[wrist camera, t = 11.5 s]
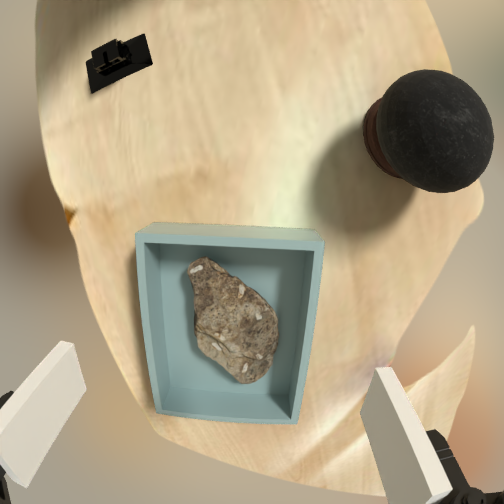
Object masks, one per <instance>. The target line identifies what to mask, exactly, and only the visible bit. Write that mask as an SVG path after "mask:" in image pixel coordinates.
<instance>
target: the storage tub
mask: <svg viewBox="0 0 504 504" xmlns="http://www.w3.org/2000/svg"><path fill="white" fill-rule="evenodd" d="M135 243H136V261H137V276H138V288H139V299H140V309H141V318H142V327H143V335H144V343H145V350H146V357H147V364H148V370H149V376H150V382H151V388H152V394H153V399H154V404H155V409H156V413H158V414H164V415H170V416H177V417H185V418H193V419H202V420H212V421H223V422H236V423H255V424H297V423H298V418H299V413H300V408H301V403H302V398H303V392H304V387H305V381H306V376H307V370H308V364H309V358H310V352H311V346H312V339H313V333H314V326H315V319H316V312H317V305H318V297H319V289H320V281H321V273H322V264H323V255H324V245H325V241H324V240H323V239H322V238H321V237H320V235H319V234H318V233H317V232H316V231H315V230H314V229H298V228H280V227H261V226H240V225H217V224H191V223H161V222H154V223H152V224H150V225H148V226H147V227H145V228H143V229H141V230H140V231H138V232H136V233H135ZM205 256H207V257H208V258H210V259H212V260H213V261H214V262H216V263H218V264H219V265H220V266H221V267H223V268H224V269H225V270H226V271H227V272H228V273H229V274H230V275H232V276H236V277H238V278H239V279H240V280H241V281H242V282H243V283H244V284H246V285H247V286H248V287H250V288H252V289H254V290H255V291H257V292H258V293H259V294H260V295H261V296H262V297H263V298H265V299H266V301H267V302H268V304H269V305H270V306H271V307H272V308H273V309H274V311H275V313H276V315H277V317H278V320H279V321H278V331H279V338H278V347H277V349H276V352H275V354H274V355H273V364H272V366H271V367H270V368H269V370H268V371H267V373H266V374H265V375H264V376H263V377H262V378H260V379H258V380H257V381H256V382H253V383H251V384H241V383H240V382H239V381H237V380H236V379H235V378H234V377H233V376H232V375H231V374H230V373H229V372H227V371H226V370H225V369H224V368H223V366H221V365H220V364H219V363H218V362H217V361H215V360H212V359H211V358H210V357H206V356H205V355H204V354H203V352H202V351H201V350H200V349H199V348H198V344H197V338H196V336H195V334H194V310H195V309H194V292H193V288H192V284H191V281H190V278H189V276H188V273H187V269H188V267H189V265H190V263H191V262H193V261H195V260H197V259H199V258H201V257H205Z"/></svg>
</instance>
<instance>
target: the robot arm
mask: <svg viewBox="0 0 504 504" xmlns="http://www.w3.org/2000/svg"><path fill="white" fill-rule="evenodd" d="M86 390H87V388H86V385H85V382H84V378H83V375H82V372H81V368H80V365H79V361H78V358H77V354H76V350H75V346H74V344H73V343H69V342H64V341H60V342H59V343H58V344H57V345H56V346H55V348H54V349H53V350H52V351H51V352H50V353H49V354H48V355H47V356H46V357H45V358H44V359H43V361H42V362H41V363H40V364H39V365H38V366H37V367H36V368H35V369H34V371H33V372H32V373H31V374H30V375H29V376H28V377H27V379H26V380H25V381H24V382H23V383H22V384H21V385H20V386H19V388H18V389H17V390H16V391H15V392H13V391H10V392H9V393H6V394H5V395H3V396H2V397H1V398H0V504H11V501H10V497H9V492H8V488H7V483H6V480H5V478H4V477H3V476H4V475H5V473H7V474H8V475H9V476H10V478H11V479H12V480H13V481H15V482H16V483H18V484H20V485H22V486H24V487H25V488H27V487H28V485H29V484H30V482H31V480H32V478H33V476H34V475H35V473H36V471H37V469H38V468H39V466H40V464H41V462H42V460H43V459H44V457H45V456H46V454H47V452H48V451H49V449H50V447H51V446H52V444H53V442H54V441H55V439H56V437H57V436H58V434H59V432H60V431H61V429H62V427H63V426H64V424H65V422H66V421H67V419H68V418H69V416H70V414H71V413H72V412H73V410H74V408H75V407H76V405H77V404H78V402H79V401H80V399H81V397H82V396H83V394H84V393H85V391H86ZM360 415H361V418H362V421H363V424H364V427H365V430H366V433H367V436H368V439H369V442H370V445H371V448H372V451H373V454H374V457H375V461H376V464H377V467H378V470H379V473H380V477H381V480H382V483H383V487H384V490H385V493H386V497H387V500H388V503H389V504H504V491H503V492H496V493H486V494H485V493H483V492H482V491H481V490H479V489H477V488H473V487H470V486H469V484H468V483H467V481H466V479H465V477H464V475H463V473H462V471H461V469H460V467H459V465H458V463H457V461H456V459H455V457H453V453H452V451H451V449H449V445H448V443H447V441H446V440H445V438H444V437H443V436H442V435H441V434H440V433H439V432H438V431H437V430H430V431H425V430H424V428H423V426H422V424H421V422H420V420H419V418H418V416H417V414H416V412H415V410H414V408H413V406H412V404H411V402H410V400H409V399H408V397H407V395H406V393H405V391H404V389H403V387H402V385H401V384H400V382H399V380H398V378H397V376H396V375H395V373H394V371H393V369H392V367H385V368H375V372H374V375H373V378H372V381H371V383H370V386H369V389H368V392H367V395H366V398H365V400H364V403H363V406H362V408H361V411H360Z"/></svg>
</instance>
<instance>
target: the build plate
mask: <svg viewBox="0 0 504 504" xmlns="http://www.w3.org/2000/svg"><path fill="white" fill-rule="evenodd" d="M91 54H92V58H91V59H89V60H88V61H86V67H87V73H88V79H89V85H90V90H91V94H93V93H94V92H96V91H98V90H100V89H102V88H104V87H106V86H108V85H110V84H112V83H114V82H116V81H118V80H120V79H122V78H124V77H126V76H128V75H130V74H133V73H135V72H137V71H139V70H142V69H144V68H146V67H148V66H151V65H152V64H153V62H152V59H151V55H150V51H149V48H148V44H147V40H146V36H145V34H141V35H139V36H137V37H134V38H132V39H130V40H128V41H126V42H122V41H121V40H120V41H118V40H117V39H114V40H112V41H110V42H108V43H106V44H104V45H102V46H100V47H98V48H96V49H94V50H93V51H91Z"/></svg>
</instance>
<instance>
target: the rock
mask: <svg viewBox="0 0 504 504" xmlns="http://www.w3.org/2000/svg"><path fill="white" fill-rule="evenodd" d="M187 273H188V276H189V278H190V281H191V284H192V288H193V292H194V309H195V310H194V334H195V336H196V338H197V344H198V348H199V349H200V350H201V351H202V352H203V354H204V355H205V356H206V357H210V358H211V359H212V360H215V361H217V362H218V363H219V364H220V365H221V366H223V368H224V369H225V370H226V371H227V372H229V373H230V374H231V375H232V376H233V377H234V378H235V379H236V380H237V381H239V382H240V383H241V384H251V383H253V382H256V381H257V380H258V379H260V378H262V377H263V376H264V375H265V374H266V373H267V371H268V370H269V368H270V367H271V366H272V364H273V355H274V354H275V352H276V349H277V347H278V338H279V331H278V321H279V320H278V317H277V315H276V313H275V311H274V309H273V308H272V307H271V306H270V305H269V304H268V302H267V301H266V299H265V298H263V297H262V296H261V295H260V294H259V293H258V292H257V291H255V290H254V289H252V288H250V287H248V286H247V285H246V284H244V283H243V282H242V281H241V280H240V279H239V278H238V277H236V276H232V275H230V274H229V273H228V272H227V271H226V270H225V269H224V268H223V267H221V266H220V265H219V264H218V263H216V262H214V261H213V260H212V259H210V258H208V257H207V256H205V257H201V258H199V259H197V260H195V261H193V262H191V263H190V265H189V267H188V269H187Z"/></svg>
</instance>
